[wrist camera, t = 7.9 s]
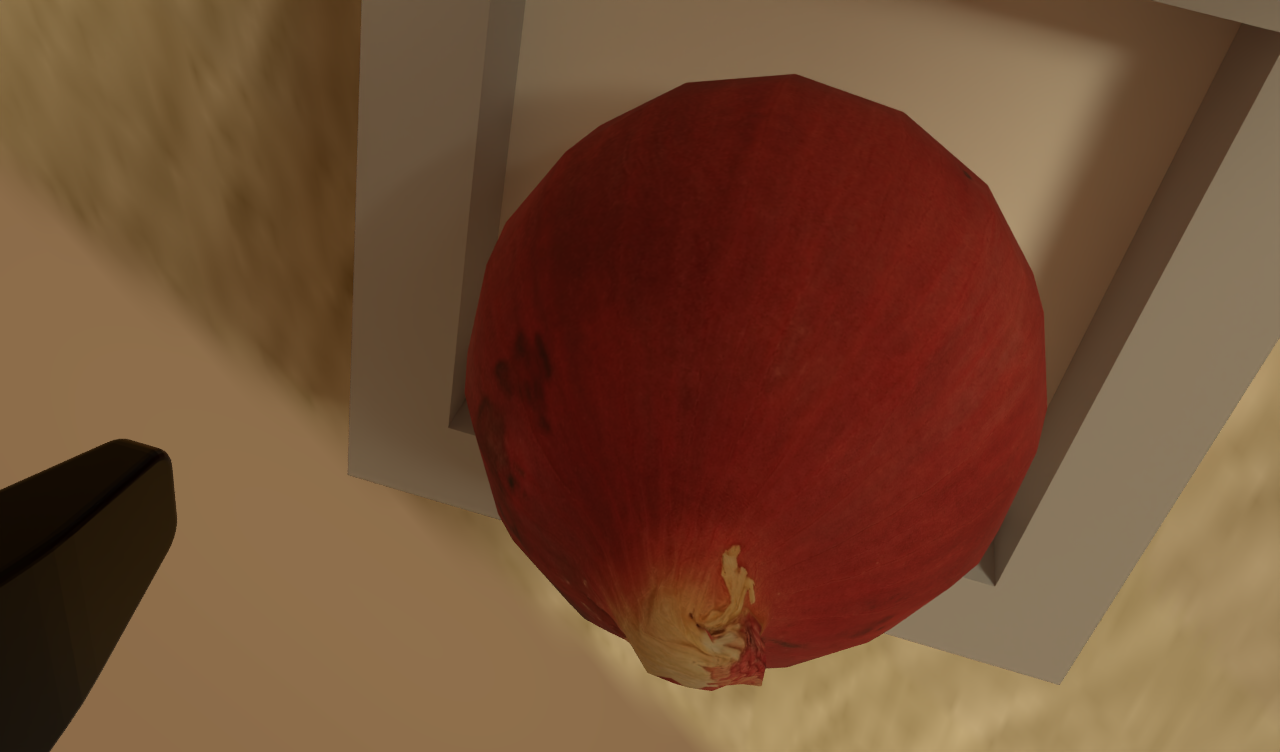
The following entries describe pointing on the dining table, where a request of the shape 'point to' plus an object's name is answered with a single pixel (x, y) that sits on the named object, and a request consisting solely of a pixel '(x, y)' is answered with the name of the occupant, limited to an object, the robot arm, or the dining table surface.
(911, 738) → the dining table surface
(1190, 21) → the display pedestal
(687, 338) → the onion
